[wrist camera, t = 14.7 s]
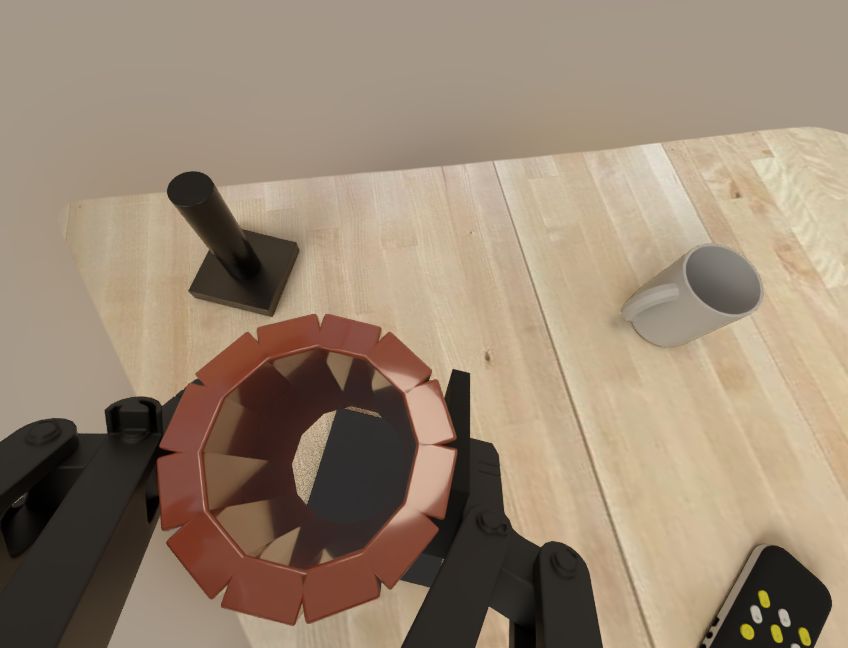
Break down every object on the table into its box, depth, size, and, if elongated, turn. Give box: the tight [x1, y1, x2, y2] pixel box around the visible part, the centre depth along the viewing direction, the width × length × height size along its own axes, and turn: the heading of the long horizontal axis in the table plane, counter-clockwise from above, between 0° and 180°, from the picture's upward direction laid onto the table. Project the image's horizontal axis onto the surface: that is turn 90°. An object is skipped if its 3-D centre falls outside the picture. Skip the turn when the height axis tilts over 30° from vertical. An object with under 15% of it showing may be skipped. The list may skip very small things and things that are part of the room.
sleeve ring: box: [157, 314, 457, 626], centre depth 14 cm, size 7×7×9 cm
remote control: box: [700, 544, 832, 648], centre depth 32 cm, size 6×13×2 cm, turn 135°
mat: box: [307, 408, 442, 587], centre depth 34 cm, size 12×12×1 cm
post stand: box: [167, 171, 299, 317], centre depth 35 cm, size 8×8×13 cm
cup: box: [621, 244, 764, 347], centre depth 39 cm, size 7×10×9 cm
